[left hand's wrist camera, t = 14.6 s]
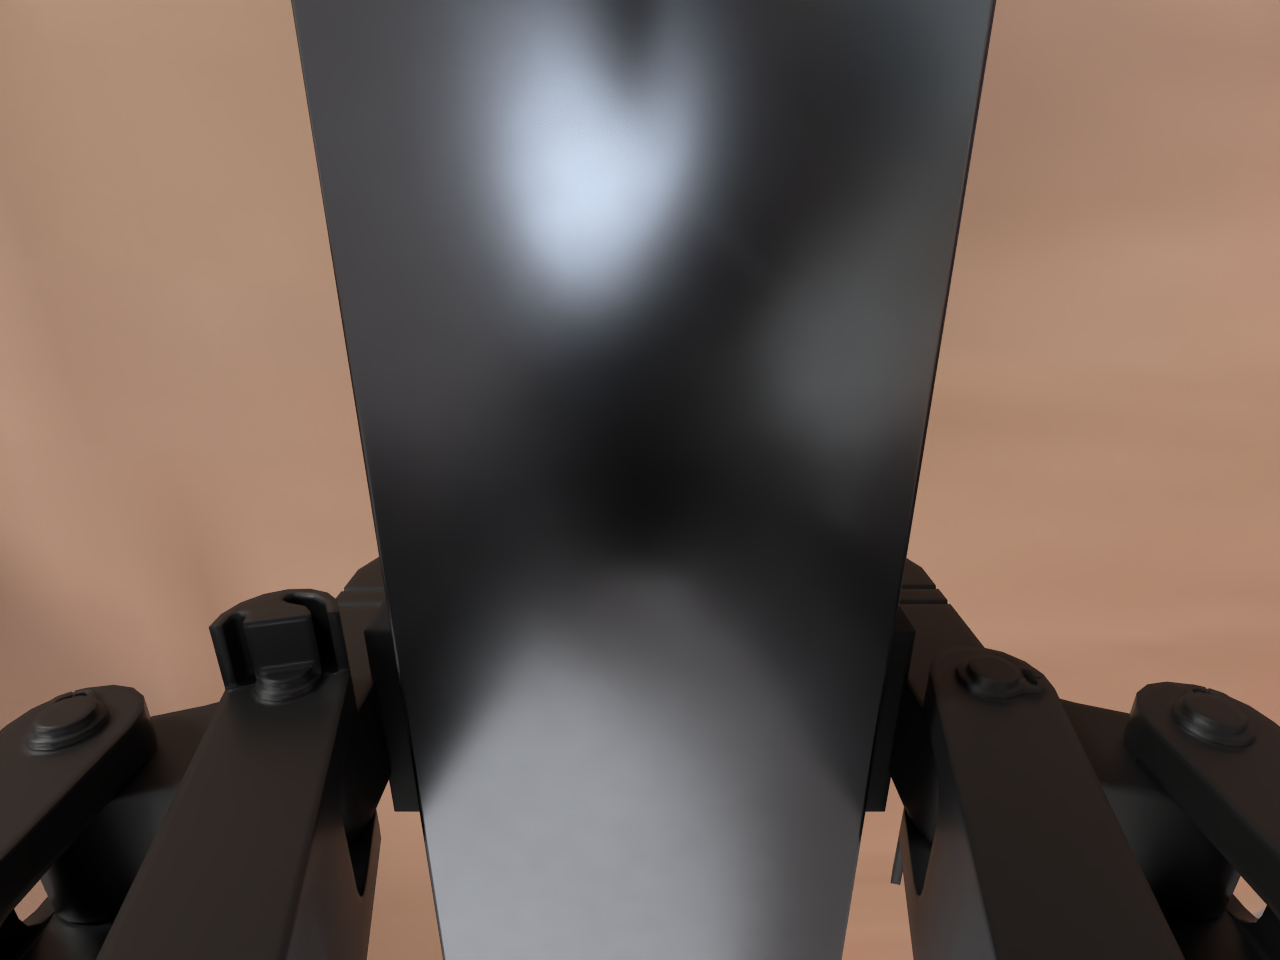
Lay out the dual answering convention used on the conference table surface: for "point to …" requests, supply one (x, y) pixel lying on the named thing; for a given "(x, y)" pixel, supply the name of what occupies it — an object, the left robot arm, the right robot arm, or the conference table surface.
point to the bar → (643, 435)
